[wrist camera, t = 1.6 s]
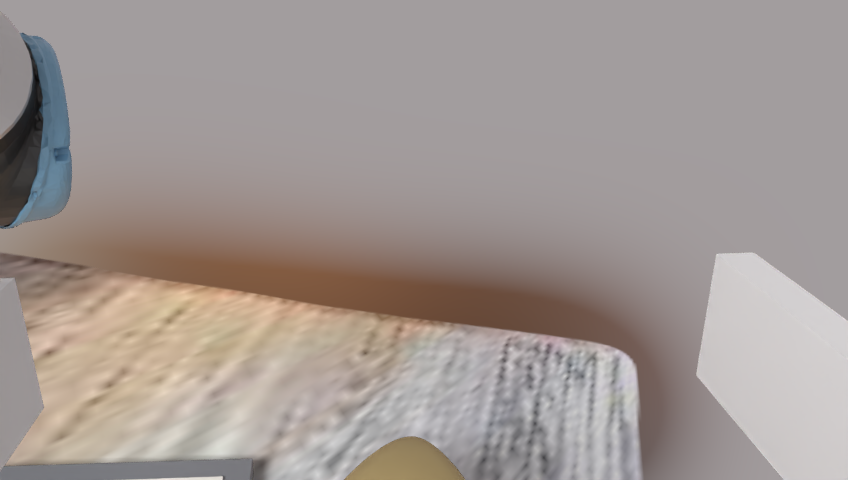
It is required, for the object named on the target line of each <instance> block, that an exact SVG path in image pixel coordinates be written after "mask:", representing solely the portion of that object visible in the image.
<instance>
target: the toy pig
mask: <svg viewBox="0 0 848 480" xmlns="http://www.w3.org/2000/svg"><path fill="white" fill-rule="evenodd" d="M344 480H465V478H464V477H463V476H462V474H461V473H460V472H459V471H458V469H457V468H456V467H455V466H454V465H453V463H452V462H451V461H450V460H449V459H448V458H447V457H446V456H445V455H444V454H443V453H442V452H441V451H440V450H439V449H437V448H436V447H435V446H434V445H432V444H431V443H429V442H428V441H426V440H424V439H421V438H418V437H413V436H411V437H404V438H400V439H397V440H394V441H392V442H390V443H388V444H386V445H385V446H383V447H381V448H380V449H378V450H377V451H376V452H374V453H373V454H371V455H370V456H369V457H368V458H366V459H365V460H364V461H363V462H362V463H361V464H360V465H358V466H357V467H356V468H355V469H354V470H353V471H352V472H351V473H350V474H349V475H348V476H347V477H346V478H345V479H344Z"/></svg>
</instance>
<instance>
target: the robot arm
mask: <svg viewBox="0 0 848 480" xmlns="http://www.w3.org/2000/svg"><path fill="white" fill-rule="evenodd" d="M69 146H70V127H69V118H68V110H67V103H66V96H65V91H64V85H63V80H62V75H61V71H60V67H59V63H58V60H57V57H56V54H55V52H54V50H53V48H52V46H51V45H50V44H49V43H48V42H46V41H45V40H44V39H43V38H41V37H38V36H28V35H26V34H24V33H19V31H18V30H17V29H16V27H15V26H14V25H13V24H12V22H11V21H10V20H9V19H8V18H7V17H6V16H5V15H4V14H3V13H1V12H0V228H2V229H6V228H14V226H16V227H17V226H18V225H20V224H22V223H24V222H30V221H35V220H41V219H46V218H50V217H52V216H55V215H56V214H58V213H59V212H61V211H62V210H63V208H64V207H65V206H66V204H67V202H68V199H69V196H70V191H71V180H72V160H71V154H70V150H69ZM696 376H697V377H698V378H699V379H700V380H701V382H702V383H703V384H704V385H705V386H706V387H707V389H708V390H709V391H710V392H711V394H712V395H713V396H714V397H715V398H716V400H718V402H719V403H720V404H721V406H722V407H723V408H724V409H725V410H726V412H727V413H728V414H729V415H730V416H731V418H732V419H733V420H734V421H735V422H736V424H737V425H738V426H739V427H740V428H741V430H742V431H743V432H744V433H745V434H746V435H747V437H748V438H749V439H750V440H751V441H752V443H753V444H754V445H755V446H756V447H757V449H758V450H759V451H760V452H761V453H762V455H763V456H764V457H765V458H766V460H767V461H768V462H769V463H770V464H771V466H772V467H773V468H774V469H775V470H776V472H777V473H778V474H779V475H780V476H781V477H782V479H783V480H848V321H847V320H846V319H844V318H843V317H842V316H840V315H839V314H838V313H836V312H835V311H833V310H832V309H831V308H829V307H828V306H827V305H825V304H824V303H822V302H821V301H820V300H818V299H817V298H816V297H814V296H813V295H811V294H810V293H809V292H807V291H805V290H804V289H803V288H802V287H800V286H799V285H798V284H796V283H795V282H793V281H792V280H791V279H789V278H788V277H787V276H785V275H784V274H782V273H781V272H780V271H778V270H777V269H776V268H774V267H773V266H771V265H770V264H768V263H767V262H766V261H765V260H763V259H762V258H760V257H759V256H758V255H756V254H755V253H728V254H716V259H715V266H714V271H713V277H712V283H711V289H710V295H709V301H708V307H707V313H706V319H705V325H704V331H703V337H702V343H701V349H700V355H699V361H698V367H697V373H696ZM43 408H44V405H43V401H42V396H41V392H40V387H39V383H38V378H37V374H36V370H35V365H34V361H33V356H32V352H31V347H30V343H29V338H28V334H27V330H26V325H25V321H24V316H23V312H22V307H21V303H20V299H19V294H18V290H17V285H16V281H15V278H0V471H1V470H2V468H3V467H4V465H5V464H6V463H7V461H8V460H9V458H10V457H11V455H12V454H13V452H14V451H15V449H16V448H17V446H18V445H19V444H20V442H21V441H22V439H23V438H24V436H25V435H26V433H27V432H28V430H29V429H30V427H31V426H32V424H33V423H34V422H35V420H36V419H37V417H38V416H39V414H40V413H41V411H42V410H43Z"/></svg>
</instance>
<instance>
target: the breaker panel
mask: <svg viewBox="0 0 848 480" xmlns="http://www.w3.org/2000/svg"><path fill="white" fill-rule="evenodd" d="M0 480H253V459H226V460H193V461H160V462H128V463H95V464H62V465H29V466H4V467H3V468H2V470H1V471H0Z"/></svg>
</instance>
